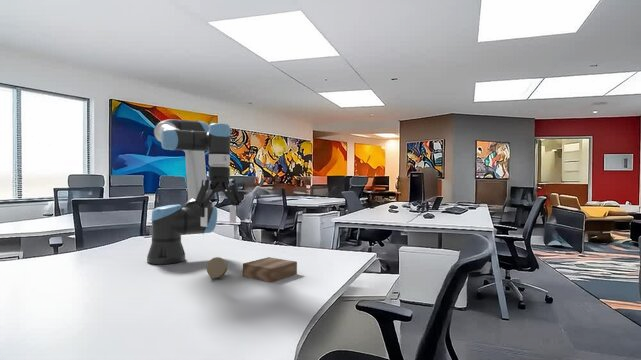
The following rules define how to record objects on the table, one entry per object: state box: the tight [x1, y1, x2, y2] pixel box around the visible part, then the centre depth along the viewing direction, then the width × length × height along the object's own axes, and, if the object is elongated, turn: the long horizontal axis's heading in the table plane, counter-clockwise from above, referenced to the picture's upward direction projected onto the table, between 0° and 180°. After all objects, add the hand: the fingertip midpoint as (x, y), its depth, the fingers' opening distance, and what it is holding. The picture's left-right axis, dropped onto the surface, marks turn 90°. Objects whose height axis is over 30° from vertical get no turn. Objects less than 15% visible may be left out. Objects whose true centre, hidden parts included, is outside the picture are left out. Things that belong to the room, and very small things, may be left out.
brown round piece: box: [205, 256, 228, 279], centre depth 140 cm, size 8×10×10 cm
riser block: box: [242, 256, 298, 283], centre depth 144 cm, size 14×14×5 cm
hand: (218, 224), depth 143 cm, fingers open, 13 cm apart
